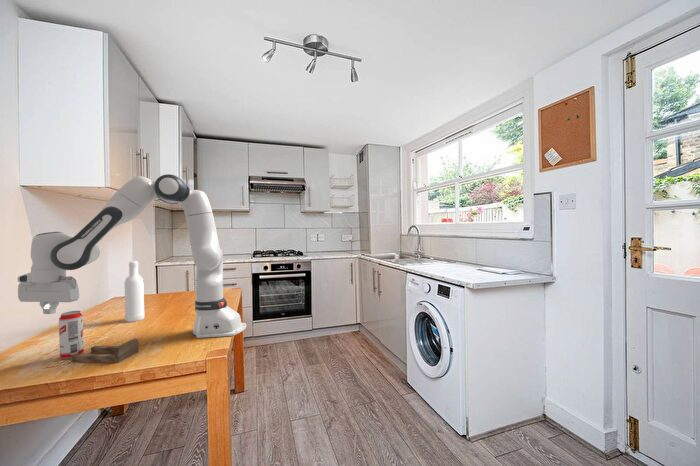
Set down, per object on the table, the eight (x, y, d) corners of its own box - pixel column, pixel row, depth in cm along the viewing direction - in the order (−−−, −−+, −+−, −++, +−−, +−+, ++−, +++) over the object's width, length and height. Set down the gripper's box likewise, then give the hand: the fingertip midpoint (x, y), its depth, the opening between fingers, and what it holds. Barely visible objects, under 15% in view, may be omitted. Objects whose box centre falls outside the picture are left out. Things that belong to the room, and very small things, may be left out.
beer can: (62, 361, 99) (61, 316, 98) (57, 357, 102) (56, 313, 102) (86, 354, 104) (85, 311, 104) (80, 350, 107) (79, 309, 107)
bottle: (148, 317, 148) (147, 260, 148) (135, 322, 140) (134, 262, 140) (134, 317, 149) (133, 260, 148) (120, 322, 141) (119, 262, 141)
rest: (138, 351, 106) (138, 338, 106) (119, 362, 98) (118, 348, 97) (94, 351, 107) (94, 338, 107) (71, 361, 99) (71, 347, 98)
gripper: (84, 275, 106) (84, 311, 106) (33, 274, 107) (34, 310, 107) (66, 277, 99) (67, 316, 99) (12, 277, 100) (13, 315, 101)
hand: (49, 313), depth 103 cm, fingers closed
